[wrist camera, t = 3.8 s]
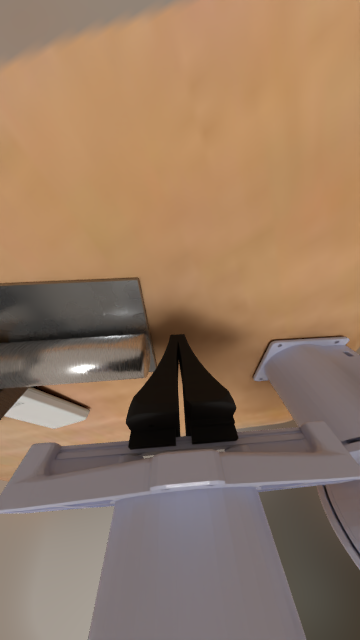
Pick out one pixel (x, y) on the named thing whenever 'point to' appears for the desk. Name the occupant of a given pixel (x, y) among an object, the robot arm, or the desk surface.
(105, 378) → the tube
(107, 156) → the desk surface
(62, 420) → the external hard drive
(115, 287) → the grey metal fixture
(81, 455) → the robot arm
